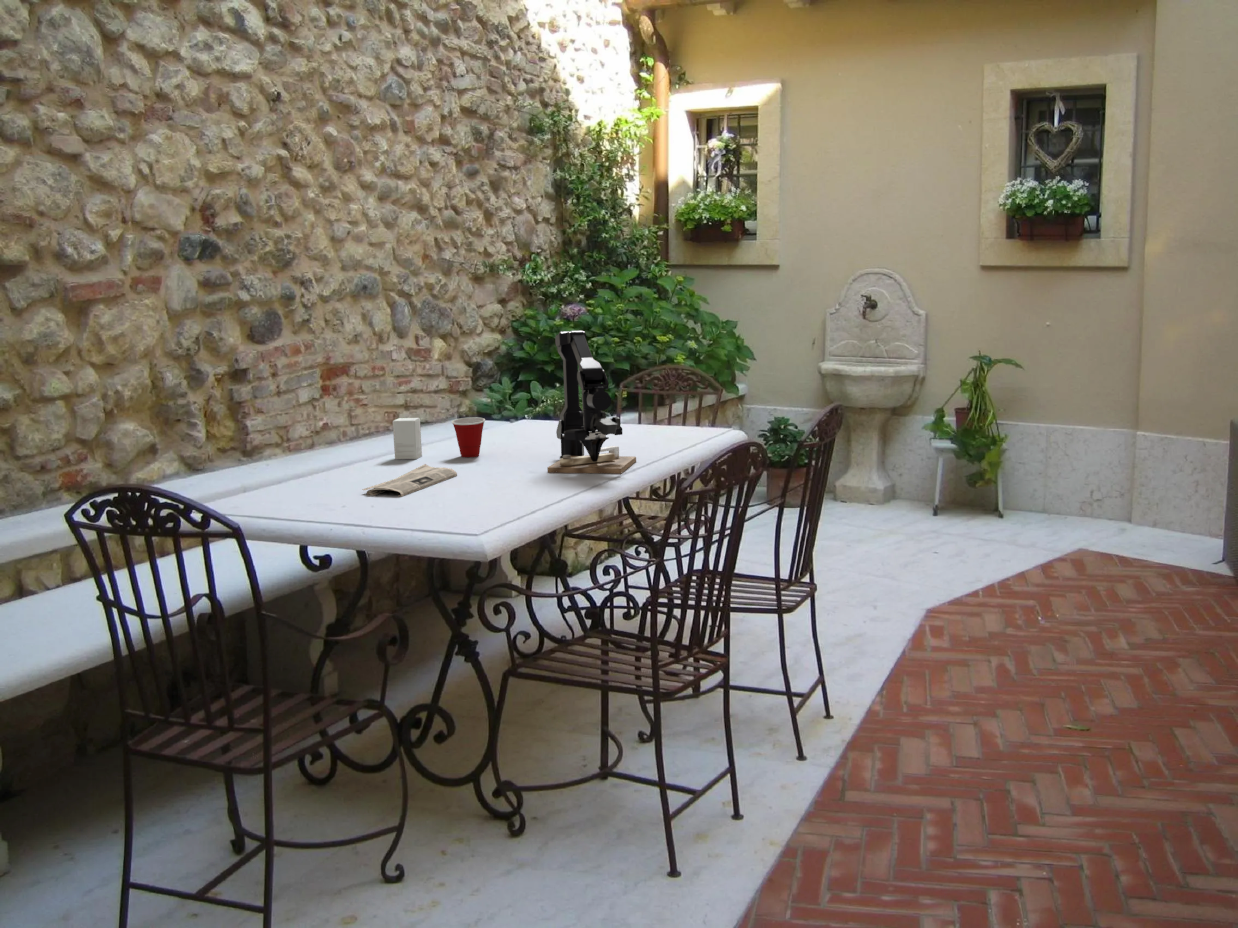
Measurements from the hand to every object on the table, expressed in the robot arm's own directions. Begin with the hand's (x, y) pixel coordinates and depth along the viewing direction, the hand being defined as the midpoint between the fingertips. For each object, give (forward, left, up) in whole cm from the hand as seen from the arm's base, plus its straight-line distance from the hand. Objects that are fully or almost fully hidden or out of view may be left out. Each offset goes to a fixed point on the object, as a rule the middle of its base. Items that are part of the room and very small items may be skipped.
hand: (594, 461), depth 349 cm
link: (-3, +1, 0) cm, 3 cm away
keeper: (+2, +11, -1) cm, 11 cm away
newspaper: (-45, -31, -3) cm, 55 cm away
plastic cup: (-47, +22, -3) cm, 52 cm away
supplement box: (-66, +17, -3) cm, 68 cm away
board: (-2, +4, -2) cm, 5 cm away
